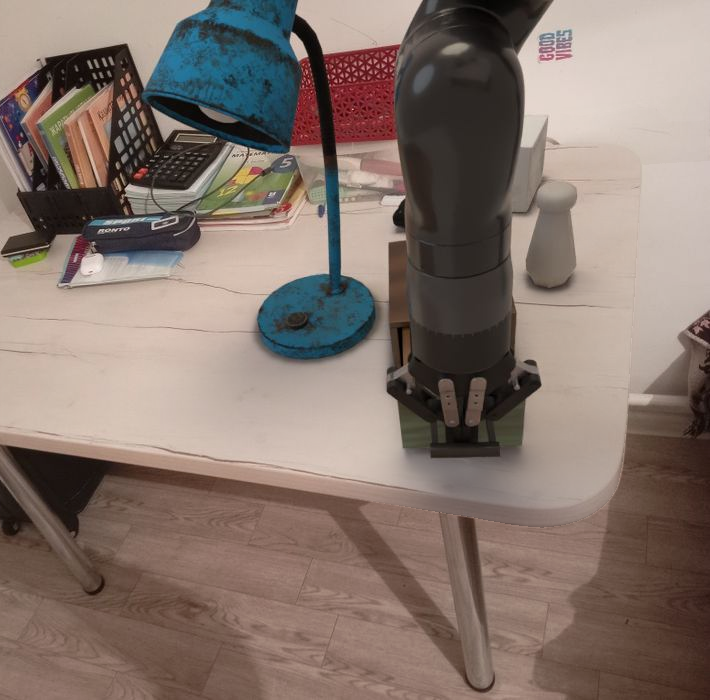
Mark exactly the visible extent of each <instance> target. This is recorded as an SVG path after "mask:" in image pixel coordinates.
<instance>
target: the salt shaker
mask: <svg viewBox="0 0 710 700" xmlns="http://www.w3.org/2000/svg"><path fill="white" fill-rule="evenodd" d="M577 200H578V191H577V187H576V186H575V185H574V184H572V183H571V182H568V181H564V180H554V181H548V182H546V183H544V184H542V185H541V186H540V187H538V188H537V191H536V193H535V205H536V207H537V209H538V210H539V211H538V214H537V218H536V222H535V225H534V229H533V232H532V236H531V238H530V239H531V240H530V242H529V246H528V250H527V253H526V257H525V270H526V272H527V273H528V275H529V277H530V278H531V280H532V282H533V284H534V285H536V286H538V287H543V288H547V289H552V288H554V287H555V288H556V287H558V286H559V287H560V286H562V285H565V283H566V282H567V280H568V279H569V277H570V276H571V275H572V273H573V272H574V271H575V270H576V267H577V255H576V245H575V238H574V236H575V235H574V228H573V220H572V212H571V209H573V207H575V205H576V203H577Z"/></svg>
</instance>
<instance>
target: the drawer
mask: <svg viewBox="0 0 710 700" xmlns="http://www.w3.org/2000/svg"><path fill="white" fill-rule="evenodd" d="M402 335H403V366H404V365H406V364H408V361H407V358H408V355H409V353H410V352H411V350H412V341H411V329H410V327H402ZM415 381H416V382H418V383H419V384H420V385H422V384H421V383H420V382H419V381H417V380H416V379H415ZM422 386H423V385H422ZM423 387H424V388H426V387H425V386H423ZM426 389H427V388H426ZM427 390H428V389H427ZM428 391H429V392H431V391H430V390H428ZM431 393H432V392H431ZM432 394H433V393H432ZM433 395H435V394H433ZM435 396H436V398H437V399H438V400H441V397H440V396H437V395H435ZM526 401H527V398H526V399H525V400H524V401H523V402H521V403H520V404H519V405H518V406H516V407H515V408H514V409H512V410H511V411H510V412H509V413H507V414H506V415H505V416H504V417H502V418H501V419H500V420H498V421H489V420H488V419H484V420H481V421H480V423H479V424H478V442H459V443H446V437H445V424H444V423H443V422H442V421H439V420H437V421H436V422H434V423H428V422H426V421H424V420H423V419H422V418H420V417H419V416H418V415H416V414H415V413H414V412H412V411H411V410H410V409H408V408H407V407H406V406H404V405H403V404H401V403H400V402H399V401H397V400H396V403H397V410H398V420H399V426H400V427H399V428H400V436H401V444H402V449H429V457H430V459H431V460H433V459H481V458H482V459H483V458H484V459H485V458H486V459H487V458H492V459H493V458H501V455H502V451H501V447H522V446H523V442H524V428H525V414H526V403H527V402H526ZM457 404H458V408H463V397H460V398H457ZM460 417H461V416H460Z"/></svg>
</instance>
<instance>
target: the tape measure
mask: <svg viewBox="0 0 710 700" xmlns="http://www.w3.org/2000/svg"><path fill="white" fill-rule="evenodd" d="M392 223H393V225H394V226H395V227H398V228H402V229H405V198H404V199H402V200H401V201H400V202H399V205H398V207H397V208H396V210H395V211H394V212H393V214H392Z"/></svg>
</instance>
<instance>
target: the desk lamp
mask: <svg viewBox="0 0 710 700" xmlns="http://www.w3.org/2000/svg"><path fill="white" fill-rule="evenodd" d="M298 3H299V0H209V3H208V5H207V6H206V7H205V9H202V10H200V11H198V12H196V13H194V14H192V15H189V16H188V17H185V18H184V19H182V20H180V21H179V22H177V23H176V25H175V27H174V29H173V31H172V33H171V35H170V37H169V39H168V41H167V43H166V45H165V47H164V49H163V51H162V53H161V54H160V57H159V59H158V61H157V63H156V65H155V67H154V68H153V71H152V72H151V74H150V77H149V79H148V81H147V83H146V84H145V87H144V89H143V91H142V93H141V100H142V101H144V103H146V104H147V105H148V106H150V107H151V108H153V109H154V110H155V111H157V112H159V113H161V114H162V115H164V116H166V117H168V118H170V119H171V120H174V121H176V122H179V123H180V124H182V125H184V126H186V127H189V128H191V129H194V130H195V131H198V132H201V133H203V134H206V135H208V136H212V137H214V138H216V139H219V140H222V141H225V142H228V143H231V144H234V145H237V146H241V147H243V148H248V149H250V150H255V151H259V152H262V153H263V152H264V153H268V154H274V155H287V154H288V153H291V145H292V139H293V134H294V129H295V128H294V127H295V123H296V121H295V120H296V116H297V109H298V103H299V97H300V93H301V92H300V91H301V85H302V80H303V68H302V66H301V64H300V61H299V59H298V57H297V55H296V53H295V51H294V49H293V47H292V44H291V36H292V33H293V34H295V36H297V38H298V39H299V40H300V42H302V44H303V47H304V49H305V51H306V54H307V57H308V63H309V66H310V67H309V68H310V71H311V75H312V81H313V85H314V93H315V99H316V105H317V112H318V113H317V114H318V120H319V130H320V131H319V132H320V140H321V148H322V150H321V151H322V157H323V167H324V180H325V183H324V185H325V202H326V216H327V217H326V219H327V248H328V273H320V274H311V275H306V276H303V277H300V278H296V279H294V280H292V281H289V282H287V283H285V284H283V285H281V286H280V287H278V288H276V289H275V290H273V291H272V292H271V293H270V294H269V295H268V296H267V297H266V298H265V299H264V300H263V302H262V304H261V305H260V307H259V309H258V313H257V317H256V322H257V327H258V331H259V335H260V339H261V340H262V342H263V343H264V345H265V346H266V347H267V348H268V349H269V350H271V351H273V352H274V353H276V354H278V355H280V356H283V357H286V358H290V359H299V360H311V359H312V360H313V359H322V358H326V357H331V356H334V355H337V354H340V353H342V352H344V351H346V350H348V349H351V348H353V347H354V346H355V345H357V343H360V342H361V341H362V340H363V339H364V338H366V336H367V335H368V334H369V333H370V331H371V330H372V328H373V327H374V323H375V321H376V317H377V315H376V311H377V310H376V305H375V303H376V302H375V298H374V296H373V293H372V292H371V290H370V288H369V287H368V286H366V285H365V284H364V283H363V282H362V281H360V280H358V279H355V278H354V277H352V276H347V275H343V274H342V242H341V241H342V238H341V236H342V234H341V233H342V231H341V204H340V184H339V183H340V182H339V181H340V180H339V165H338V155H337V154H338V153H337V142H336V133H335V132H336V131H335V123H334V122H335V121H334V111H333V104H332V103H333V102H332V96H331V89H330V81H329V76H328V70H327V66H326V61H325V57H324V51H323V48H322V45H321V42H320V40H319V37H318V34H317V33H316V31H315V30H314V29H313V27H312V25H310V23H308V21H307V20H306V19H305V18H303V17H302V16H300V15H298V14H297V9H298V8H297V7H298Z"/></svg>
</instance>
